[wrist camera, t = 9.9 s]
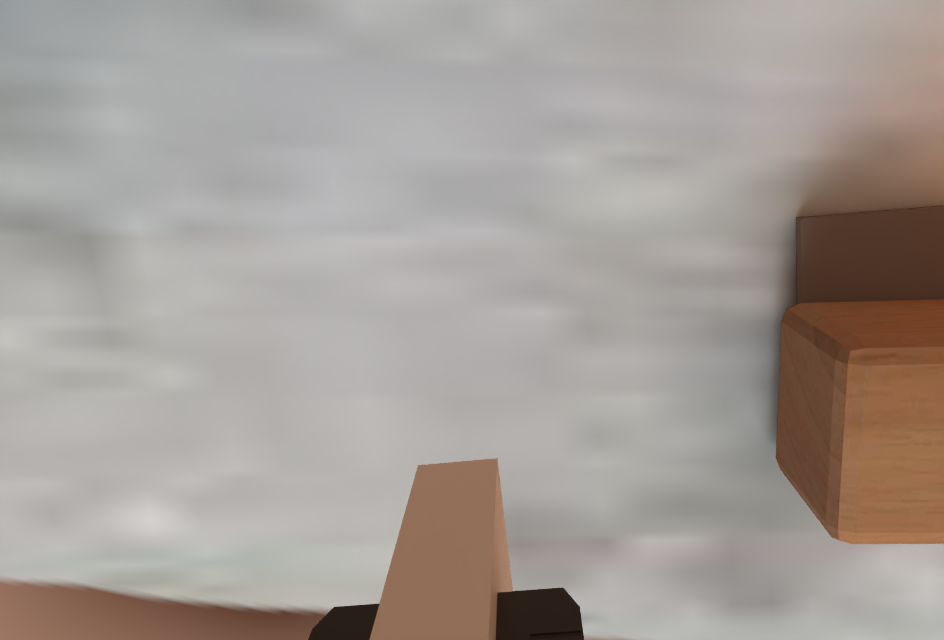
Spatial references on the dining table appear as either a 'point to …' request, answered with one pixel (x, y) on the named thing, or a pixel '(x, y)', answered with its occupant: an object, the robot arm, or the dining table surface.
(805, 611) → the dining table surface
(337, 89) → the dining table surface
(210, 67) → the dining table surface
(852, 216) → the mat
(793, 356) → the wooden block
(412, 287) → the dining table surface
